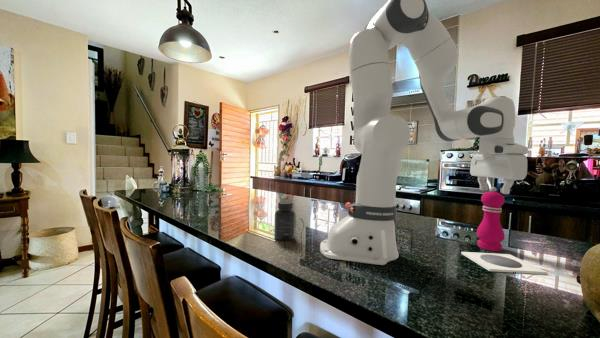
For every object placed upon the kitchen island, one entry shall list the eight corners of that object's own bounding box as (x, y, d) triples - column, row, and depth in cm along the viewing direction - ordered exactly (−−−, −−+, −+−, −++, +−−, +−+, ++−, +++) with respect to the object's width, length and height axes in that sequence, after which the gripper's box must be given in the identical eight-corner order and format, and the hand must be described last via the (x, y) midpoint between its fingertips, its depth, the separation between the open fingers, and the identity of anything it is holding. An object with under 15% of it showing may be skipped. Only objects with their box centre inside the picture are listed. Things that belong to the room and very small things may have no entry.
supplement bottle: (273, 235, 87) (274, 200, 86) (292, 234, 88) (294, 200, 88) (274, 241, 80) (276, 204, 80) (296, 241, 81) (297, 204, 81)
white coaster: (489, 271, 63) (489, 268, 63) (461, 253, 75) (461, 251, 75) (547, 274, 63) (547, 271, 63) (509, 256, 75) (509, 253, 75)
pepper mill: (508, 253, 77) (513, 188, 77) (482, 250, 79) (486, 187, 78) (495, 245, 85) (499, 186, 84) (471, 243, 86) (475, 185, 85)
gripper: (465, 150, 91) (464, 188, 92) (510, 147, 71) (507, 196, 71) (483, 150, 91) (481, 188, 91) (533, 147, 70) (530, 196, 71)
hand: (493, 191), depth 81 cm, fingers open, 8 cm apart
